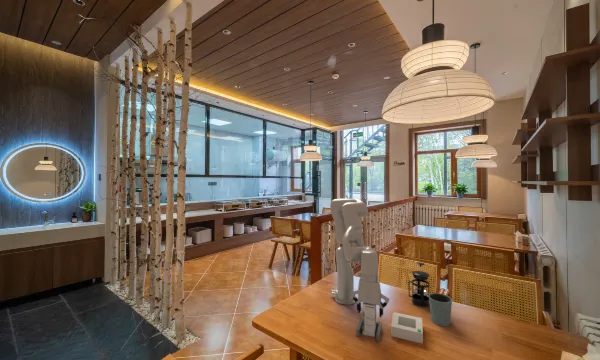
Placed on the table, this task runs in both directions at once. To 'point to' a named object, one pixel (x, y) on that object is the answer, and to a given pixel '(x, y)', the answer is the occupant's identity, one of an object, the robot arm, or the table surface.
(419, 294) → the french press
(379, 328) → the grey u-shaped bracket
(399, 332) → the port
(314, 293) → the table surface
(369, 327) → the syrup box
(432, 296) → the grey embossed plant pot
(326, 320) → the table surface
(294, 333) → the table surface
